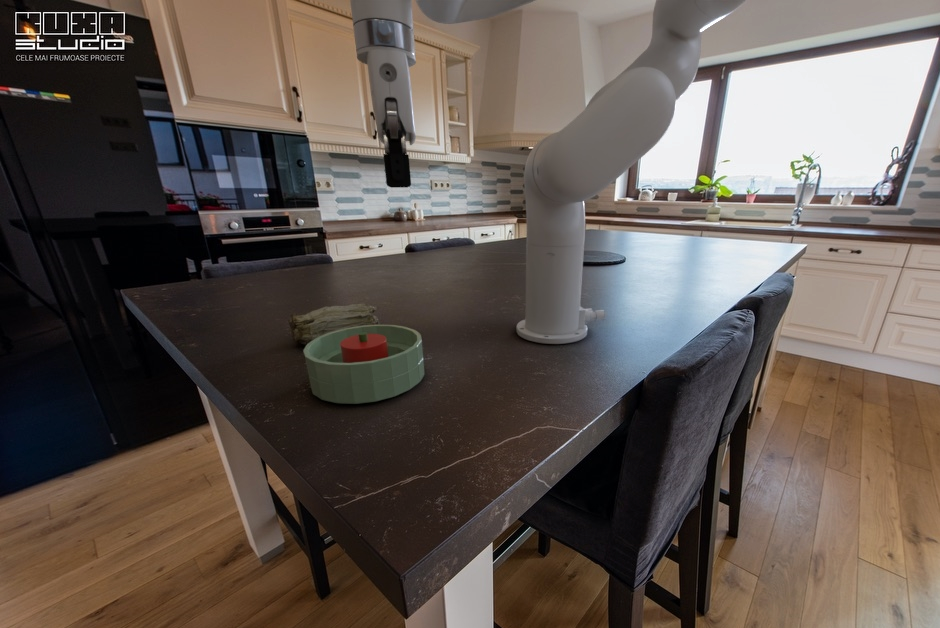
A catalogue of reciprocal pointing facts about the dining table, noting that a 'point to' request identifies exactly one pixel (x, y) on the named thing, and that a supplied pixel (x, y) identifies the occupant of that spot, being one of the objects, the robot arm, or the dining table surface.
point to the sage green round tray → (364, 366)
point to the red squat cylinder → (364, 348)
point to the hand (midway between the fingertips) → (399, 187)
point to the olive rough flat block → (330, 321)
